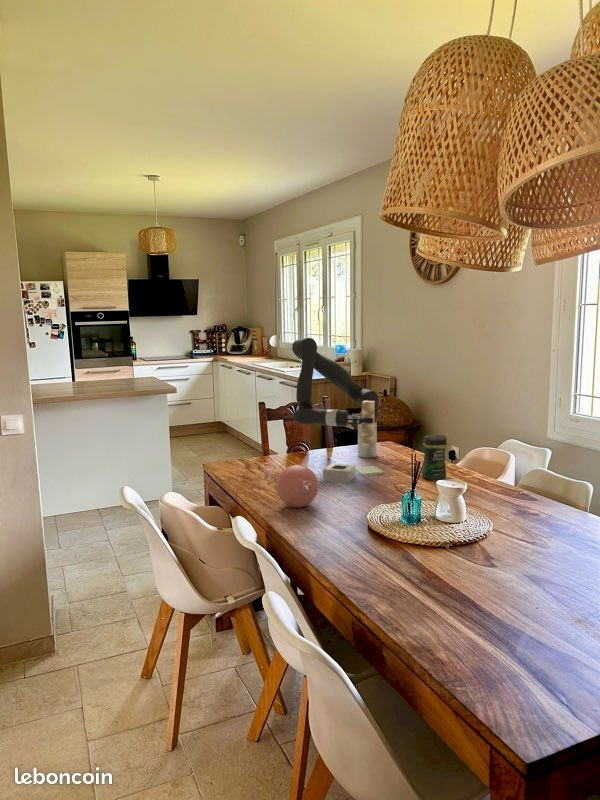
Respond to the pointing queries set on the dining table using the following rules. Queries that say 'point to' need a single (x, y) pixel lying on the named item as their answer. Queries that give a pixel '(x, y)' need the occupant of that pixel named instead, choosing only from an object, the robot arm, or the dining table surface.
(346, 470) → the block
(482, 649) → the dining table surface
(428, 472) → the coffee jar
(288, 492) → the pink rubber ball
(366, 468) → the sage mat
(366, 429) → the beech peg
